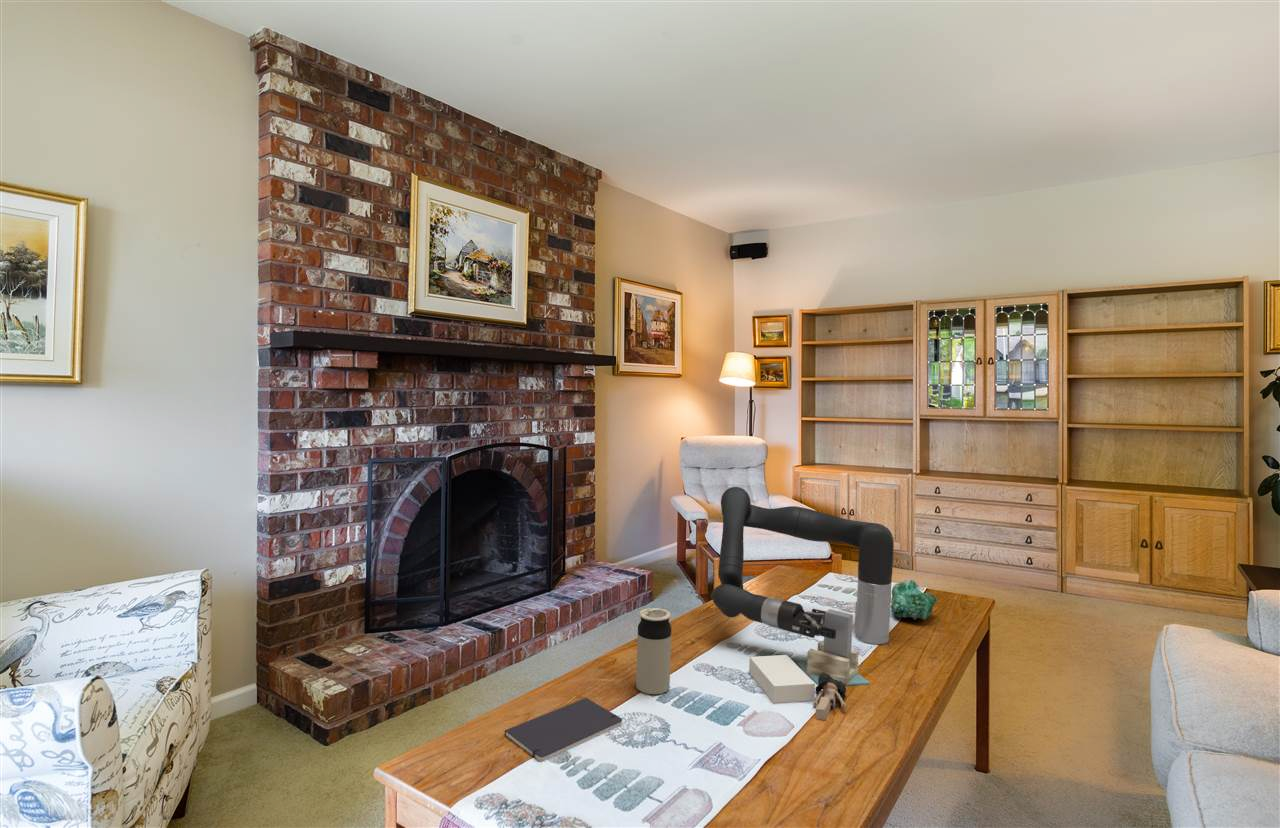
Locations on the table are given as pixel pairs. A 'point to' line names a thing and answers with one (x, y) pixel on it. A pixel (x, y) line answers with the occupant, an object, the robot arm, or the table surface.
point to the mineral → (911, 601)
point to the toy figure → (828, 695)
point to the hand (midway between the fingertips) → (841, 629)
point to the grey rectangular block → (839, 634)
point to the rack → (832, 664)
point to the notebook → (563, 728)
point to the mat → (854, 681)
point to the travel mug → (653, 651)
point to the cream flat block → (781, 679)
